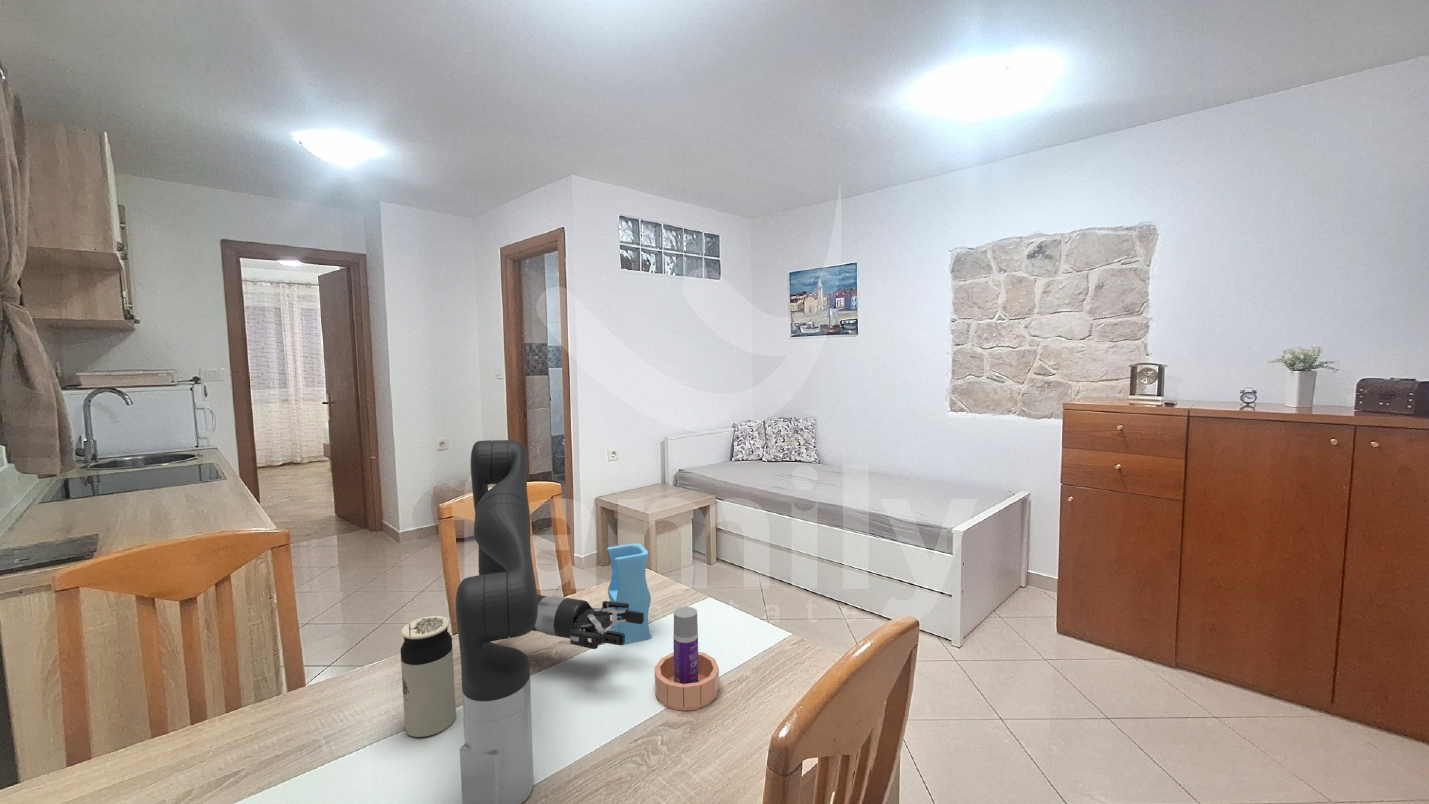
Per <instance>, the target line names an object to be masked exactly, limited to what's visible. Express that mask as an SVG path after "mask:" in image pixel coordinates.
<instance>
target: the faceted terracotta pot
mask: <svg viewBox="0 0 1429 804" xmlns="http://www.w3.org/2000/svg"><path fill="white" fill-rule="evenodd" d="M719 672H720V667H719V665H718V663H717V661H716V659H715V658H714V657H712V656H711V655H709V654H707V653H706V652H704V651H703V652H702V651H698V682H696V683H689V684H681V683H675V682H674V651H673V652H672V653H669V654H667V655H665V656H662V657H661V658H660V659H659V660H658V661H657V663H656V665H655V666H654V690H655V696H656V699H657V701H658V702H659V703H660V704H661V705H663V706H664V707H667V708H668V709H671V710H675V711H680V712H688V711H689V712H690V711H695V710H699V709H702V708H705V707H707V706H709V705H710V704H711V703H713V702H714V700H715V699H716V698H717V696H718V693H719V692H718V691H719V689H720V673H719Z"/></svg>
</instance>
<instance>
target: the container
mask: <svg viewBox="0 0 1429 804" xmlns="http://www.w3.org/2000/svg"><path fill="white" fill-rule="evenodd" d="M698 629H699V628H698V610H697V608H694V607H692V606H680V607H677V608H676V609H675V610H673V636H672V637H673V638H672V639H673V652H674V682H675V683H681V684H689V683H696V682H698V652H699V631H698Z"/></svg>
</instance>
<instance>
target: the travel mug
mask: <svg viewBox="0 0 1429 804" xmlns="http://www.w3.org/2000/svg"><path fill="white" fill-rule="evenodd" d="M450 624H451V621H450V619H449V618H447V617H446V616H443V615H431V616H430V615H429V616H424V617H421V618H417V619H414V620H411V621H410V622H409V623H407V624H406V625H405V626H403V627H402V628H401V631H400V634H401V636H402V637H403V643H402V645H401V647H400V666H401V682H402V695H403V697H402V698H403V715H404V730H405V733H406V734H407V735H409V736H411V737H415V738H422V737H423V738H425V737H429V736H432V735H436V734H438V733H440V732H443V731H444V730H445V729H447V728H449V727H450V725H452V724H453V723H454V721H455V719H456V717H457V710H456V709H457V708H456V706H457V705H456V689H455V672H454V671H455V670H454V652H453V650H454V649H453V637H452V635H451V633H450V632H449V631H448V629H449V626H450Z"/></svg>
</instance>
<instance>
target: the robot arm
mask: <svg viewBox="0 0 1429 804" xmlns="http://www.w3.org/2000/svg"><path fill="white" fill-rule="evenodd" d="M470 452H471V453H470V476H471V477H470V479H471V488H472V489H471V491H472V498H473V507H474V523H473V524H474V525H473V536H474V539H475V542H476V543H477V544H478V575H473V576H472V575H471V576H468V577H465V578H463V579H462V580H461V582H460V583H459V585H458V586H457V589H456V590H457V591H456V595H455V617H456V618H455V619H456V628H457V637H458V643H459V655H460V668H461V669H460V670H461V672H460V673H461V692H462V693H461V694H462V708H463V709H462V711H463V712H462V715H463V716H462V717H463V731H464V733H463V736H464V743H463V745H462V746H461V747H460V748H459V761H460V763H459V765H460V781H461V783H460V784H461V800H462V802H461V803H462V804H523V803H524V802H525V801H526V800H527V799H528V798H529V796H530V795H531V792H532V791H533V788H534V785H535V781H534V775H535V774H534V753H533V727H532V726H533V725H532V723H533V721H532V702H531V701H532V697H531V693H532V692H531V673H530V672H531V670H530V660H529V658H528V655H527V654H526V653H525V652H523V651H522V650H520V649H518V648H515V647H510V646H505V645H500V644H497V643H494V642H496V641H502V640H506V639H513V638H518V637H521V636H524V635H527V634H529V633H531V632H538V633H541V634H544V635H548V636H554V637H558V638H565V639H569V642H570V645H573V646H578V647H582V648H587V649H591V650H597V649H598V648H599V646H600V645H601V646H604V645H605V644H609V645H615V646H624V645H623V644H624V643H625V634H624V633H621V632H615V631H610V630H609V629H608V628H610V627H611V626H615V625H617V623H619V622H625V621H626V622H630V623H636V624H642V623H643V622H644V613H642V612H636V611H629V604H627V603H619V602H610V600H604V601H602V604H601V605H602V606H601V607H596V608H595V607H594V608H593V606H591V604H590V603H589V602H588V601H587V600H583V599H577V598H570V597H566V596H565V597H564V596H563V597H562V596H550V595H549V596H548V595H543V594H542V595H541V594H538V590H537V584H536V583H537V582H536V577H535V571H534V565H533V558H532V550H531V547H532V546H531V516H530V514H531V513H530V507H529V506H530V505H529V497H528V468H529V467H528V466H529V463H528V462H529V461H528V451H527V448H526V446H525V444H524V443H523V442H522V441H520V440H516V439H503V440H502V439H498V440H496V439H495V440H492V439H490V440H489V439H488V440H486V439H485V440H478V441H475V442H474V444H473V446H472V448H471V451H470ZM490 485H491V486H492V485H494V486H492V487H491V488H490V489H489V486H490ZM619 607H620V608H619ZM617 616H621V617H619V618H617ZM606 629H608V630H606ZM589 639H591V640H590V641H589Z"/></svg>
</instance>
